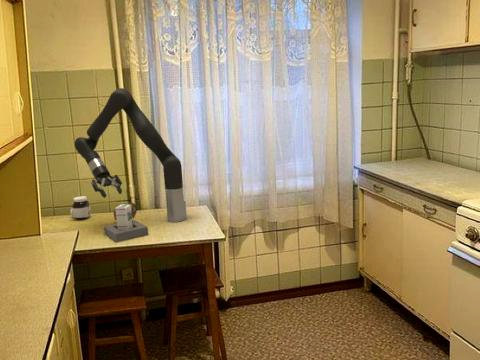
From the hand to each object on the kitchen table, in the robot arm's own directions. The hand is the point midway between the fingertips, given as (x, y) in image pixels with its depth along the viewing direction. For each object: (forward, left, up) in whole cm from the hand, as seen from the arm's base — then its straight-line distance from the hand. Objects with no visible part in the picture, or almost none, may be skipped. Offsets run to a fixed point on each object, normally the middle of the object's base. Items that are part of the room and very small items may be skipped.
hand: (113, 194), depth 246 cm
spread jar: (+7, -38, -19) cm, 43 cm away
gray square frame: (-1, +8, -19) cm, 20 cm away
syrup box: (-1, +8, -19) cm, 21 cm away
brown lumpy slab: (-11, -17, -19) cm, 28 cm away
